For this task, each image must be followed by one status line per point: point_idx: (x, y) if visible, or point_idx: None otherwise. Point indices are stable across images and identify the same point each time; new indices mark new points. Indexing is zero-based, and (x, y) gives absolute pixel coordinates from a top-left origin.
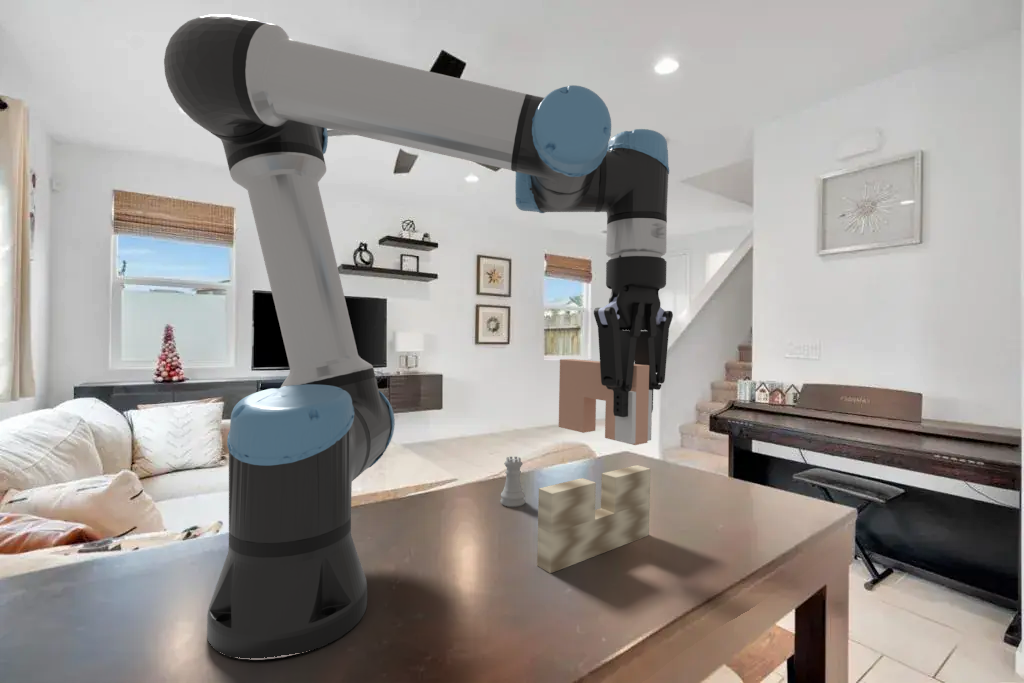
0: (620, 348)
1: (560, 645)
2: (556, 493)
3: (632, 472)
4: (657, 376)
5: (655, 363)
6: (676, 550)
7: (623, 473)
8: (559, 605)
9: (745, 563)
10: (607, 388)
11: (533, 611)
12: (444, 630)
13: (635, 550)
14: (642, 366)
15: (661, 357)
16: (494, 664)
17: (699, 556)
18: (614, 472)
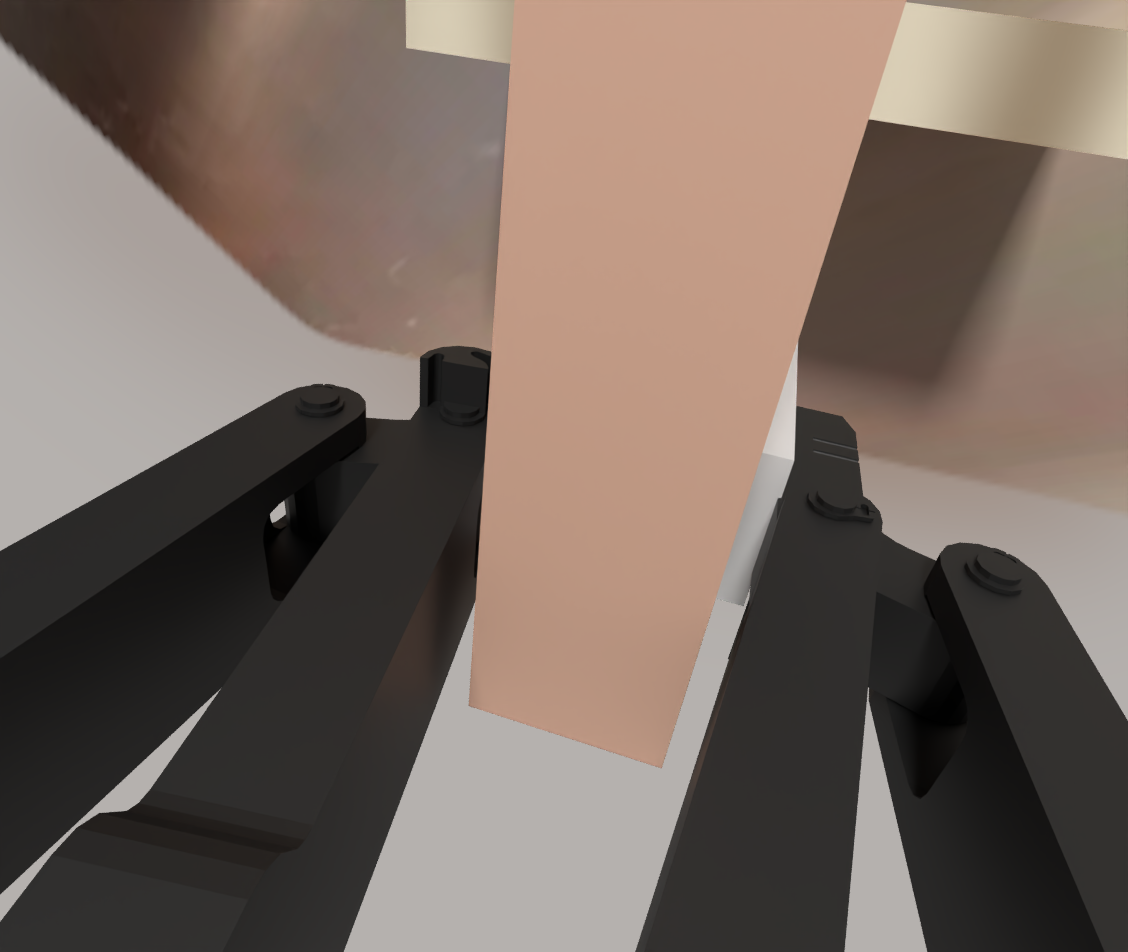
0: (128, 768)
1: (336, 271)
2: (434, 50)
3: (1009, 129)
4: (879, 701)
5: (930, 798)
6: (959, 268)
7: (952, 100)
8: (424, 180)
9: (982, 456)
10: (451, 349)
11: (361, 150)
12: (171, 51)
13: (867, 156)
14: (557, 725)
15: (922, 921)
16: (215, 215)
17: (953, 342)
18: (944, 44)
